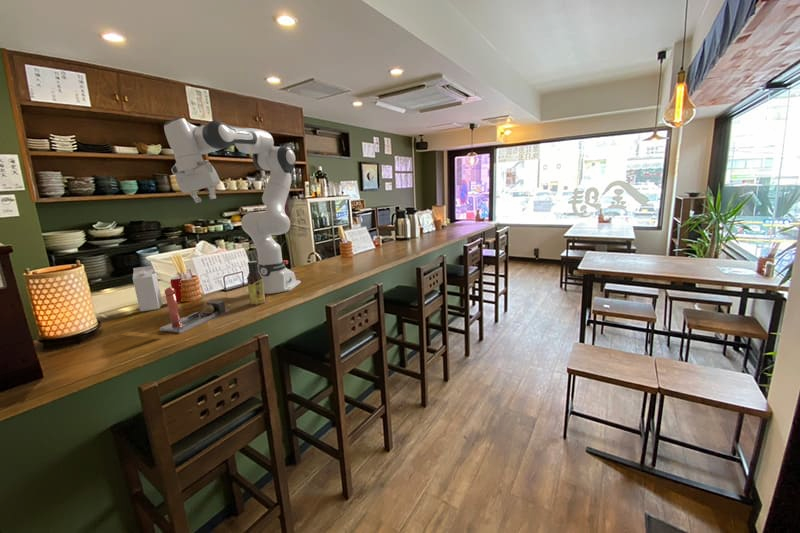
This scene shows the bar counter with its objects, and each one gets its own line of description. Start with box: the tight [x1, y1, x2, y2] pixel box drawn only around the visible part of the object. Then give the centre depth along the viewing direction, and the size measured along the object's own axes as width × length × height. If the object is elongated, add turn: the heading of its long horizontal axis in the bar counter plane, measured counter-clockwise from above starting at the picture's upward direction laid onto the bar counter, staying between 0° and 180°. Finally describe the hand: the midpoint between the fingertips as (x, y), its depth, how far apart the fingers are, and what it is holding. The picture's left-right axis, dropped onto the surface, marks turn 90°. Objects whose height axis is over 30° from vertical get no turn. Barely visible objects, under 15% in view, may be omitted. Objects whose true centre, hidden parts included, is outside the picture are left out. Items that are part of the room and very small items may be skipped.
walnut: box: [202, 304, 214, 315], centre depth 142 cm, size 4×4×4 cm
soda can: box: [170, 275, 182, 304], centre depth 163 cm, size 6×6×12 cm
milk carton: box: [132, 265, 164, 312], centre depth 155 cm, size 7×7×19 cm
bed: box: [159, 299, 231, 334], centre depth 137 cm, size 24×10×5 cm, turn 163°
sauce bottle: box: [246, 260, 266, 307], centre depth 152 cm, size 6×6×20 cm
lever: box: [162, 287, 189, 333], centre depth 127 cm, size 7×7×16 cm
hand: (206, 200), depth 135 cm, fingers open, 8 cm apart
